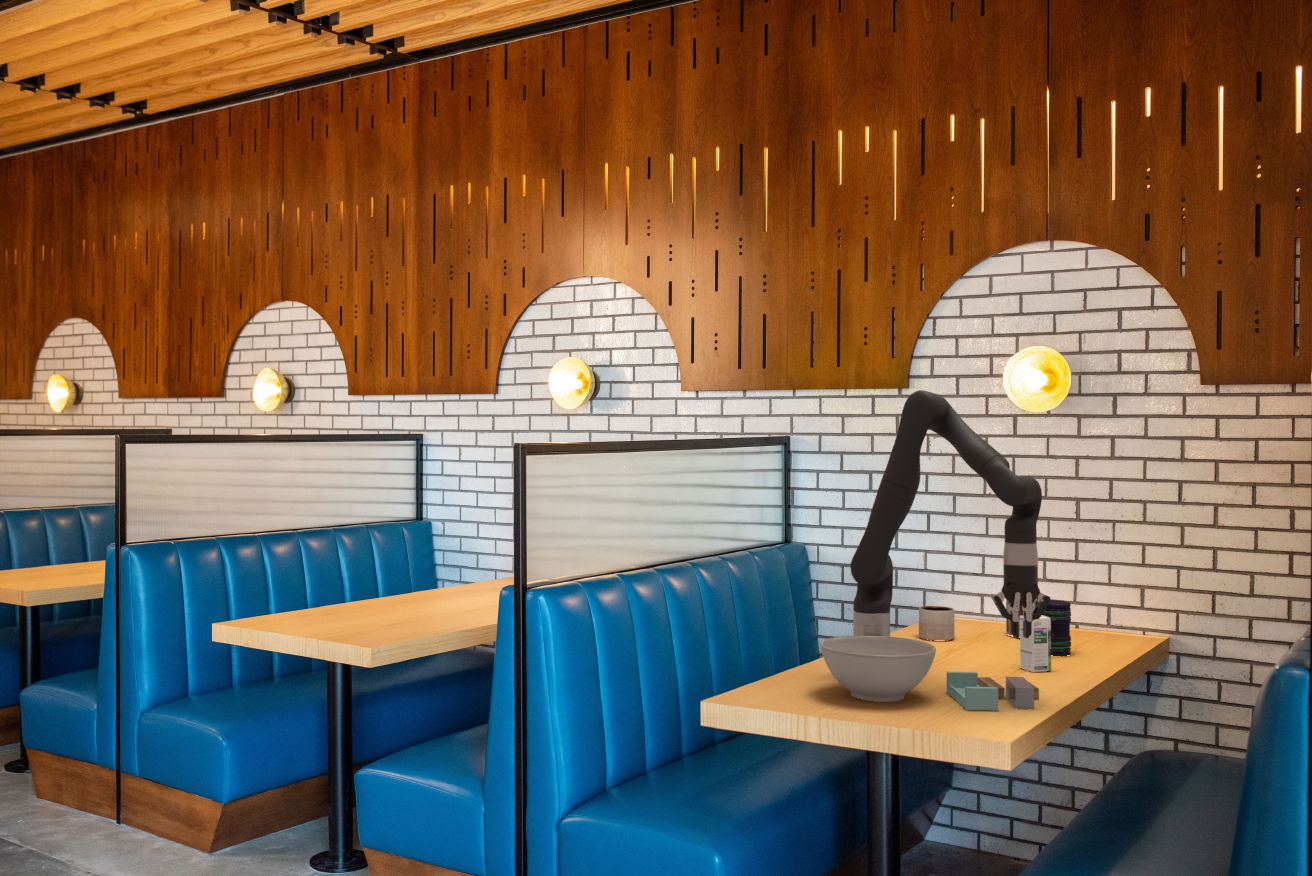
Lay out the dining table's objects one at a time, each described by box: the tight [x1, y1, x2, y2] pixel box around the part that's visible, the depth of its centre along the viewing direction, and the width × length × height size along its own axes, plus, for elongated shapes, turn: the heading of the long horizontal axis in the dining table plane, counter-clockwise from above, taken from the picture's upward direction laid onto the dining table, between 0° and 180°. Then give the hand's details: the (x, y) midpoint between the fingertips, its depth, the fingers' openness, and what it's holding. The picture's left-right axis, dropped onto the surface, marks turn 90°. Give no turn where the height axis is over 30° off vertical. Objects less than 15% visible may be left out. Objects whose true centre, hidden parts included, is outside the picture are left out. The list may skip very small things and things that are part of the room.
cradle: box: [946, 671, 999, 712], centre depth 239 cm, size 7×18×5 cm, turn 178°
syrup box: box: [1019, 615, 1052, 673], centre depth 275 cm, size 6×6×14 cm
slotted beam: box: [978, 676, 1040, 700], centre depth 248 cm, size 11×12×2 cm
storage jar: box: [1035, 599, 1072, 656], centre depth 299 cm, size 10×10×15 cm
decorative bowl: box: [819, 635, 937, 703], centre depth 244 cm, size 27×27×12 cm
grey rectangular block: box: [1005, 676, 1035, 710], centre depth 238 cm, size 4×12×5 cm, turn 171°
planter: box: [918, 605, 956, 641], centre depth 323 cm, size 11×11×10 cm
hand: (1020, 637), depth 238 cm, fingers closed
